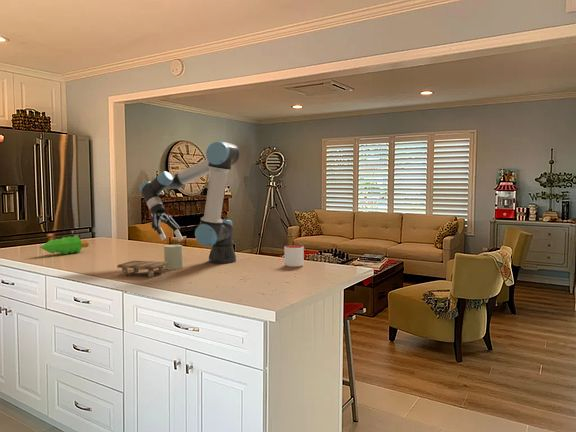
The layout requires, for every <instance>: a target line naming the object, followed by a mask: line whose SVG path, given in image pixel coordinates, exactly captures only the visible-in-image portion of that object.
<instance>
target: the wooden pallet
mask: <svg viewBox="0 0 576 432" xmlns="http://www.w3.org/2000/svg"><path fill="white" fill-rule="evenodd" d="M165 265H168V262H165V261H154V260H131V261H127V262H124V263H120V264H117V268H118V269H120V268H121V269H122V270H121V273H122V274H121V275H122V277H127V276H128V274H129V273H128V269H133V271H132V272H133V273H139V272H140V271H139V270H147V271H148V272H147V273H148V278H154V277H155V272H154V271H155V270H156V269H158V274H159V273H163V274H165V269H164V268H165Z"/></svg>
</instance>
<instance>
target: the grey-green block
mask: <svg viewBox="0 0 576 432" xmlns="http://www.w3.org/2000/svg"><path fill="white" fill-rule="evenodd" d="M163 251H164V254H163V255H164V256H163V257H164V262H168V265H165V266H164V270H167V269H168V271H175V270H174V269H177V270H181V268H182V269H183V268H184V267H183V265H184V264H183V245H182V244H166V245H164V246H163Z"/></svg>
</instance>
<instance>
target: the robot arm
mask: <svg viewBox="0 0 576 432" xmlns="http://www.w3.org/2000/svg"><path fill="white" fill-rule="evenodd" d="M205 157H206V159H204V160H202V161H200V162H198V163H195V164H193V165H190V167H187V168H185V169H183V170H181V171H179V172H176V173H174V174H171V173H170V172H168V171H165V170H163V171H162V172H160V173H158V175H157V176H155V178H154V179H152V180H151V181H150V180H149V181H148V180H147V181H144V182H142V183H141V184H140V185H139V191H140V194H141V196H142V197H143V199H144V201H145V203H146V206H147V207H148V209H149V211H150V213H151V214H150V215H149V216H150V221H151V223H150V224H151V228H152V229H153V231H156V232H157V234H158V235H159V236H158V237H160V240H161V241H164V240H166V239H167V236H166V234H165V232H164V229H163V228H162V227H161V223H163V224H165V225H167V226H168V227H169V228H170V229H171V230H173V233H174V235H175V237H176V239H177V241H178V242H179V243H180V242H181V241H183V239H184V238H183V236H182V234H181V232H180V229H181V227H180V225H179V224H178V223H177V222H176V221H175V220H174V219H173V217H172V215H171V214H166V208H165V205H164V204H163V202H162V200H161V197H160V196H159V194H160V193H162V191H164V190H166V189H167V190H169V189H170V190H171V189H175V190H178V189H182V188H184V186H185V185H187V184H189V183H191V182H193V181H196V180H198V179H200V178H202V177H204V176H207V175H209V178H208V187H207V193H206V199H205V200H206V201H205V207H204V215H203V216H202V217H200V222H199V225H198V226H197V227H196V228H195V231H194V236H195V240H196V241H197V242H198V244H199V245H200V246H203V247H211V248H210V252H209V255H208V262H209V263H213V264H229V263H230V264H231V263H234V262H236V261H237V255H236V252H235V250H234V242H233V241H234V239H233V238H234V236H233V234H234V229H233V228H234V227H233V221H232V220H231V219H222V218H221V217H222V212H223V206H224V205H223V204H224V196H225V192H226V191H225V190H226V185H227V178H228V173H229V172H230V171H231V170H232V166H233V165H236V163H238V162H239V160H240V158H241V151H240V149H239V147H238V146H237V145H236V144H234V143H231V142H226V141H214V142H212V143H210V144H209V145H208V147H207V149H206V151H205Z"/></svg>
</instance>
